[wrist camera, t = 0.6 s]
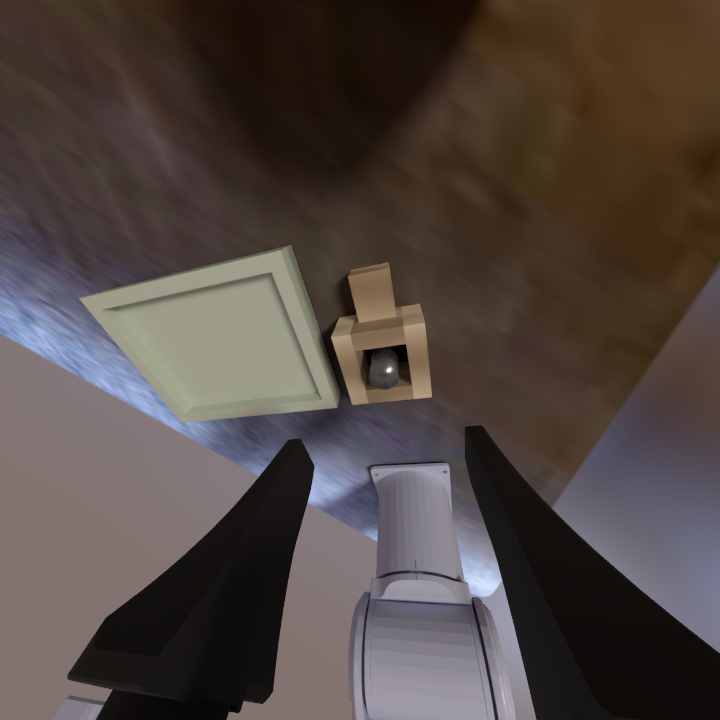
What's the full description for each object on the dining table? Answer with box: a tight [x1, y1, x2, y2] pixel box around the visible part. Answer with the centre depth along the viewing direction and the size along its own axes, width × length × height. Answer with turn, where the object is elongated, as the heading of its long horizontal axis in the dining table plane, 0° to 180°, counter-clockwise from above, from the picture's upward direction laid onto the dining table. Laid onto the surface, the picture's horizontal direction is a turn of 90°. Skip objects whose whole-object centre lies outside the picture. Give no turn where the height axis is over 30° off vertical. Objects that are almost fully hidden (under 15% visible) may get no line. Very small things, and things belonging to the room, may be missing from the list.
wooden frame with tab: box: [331, 262, 432, 405], centre depth 17 cm, size 9×6×3 cm, turn 13°
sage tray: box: [80, 245, 341, 423], centre depth 19 cm, size 12×15×2 cm
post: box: [369, 345, 399, 390], centre depth 17 cm, size 2×2×4 cm
